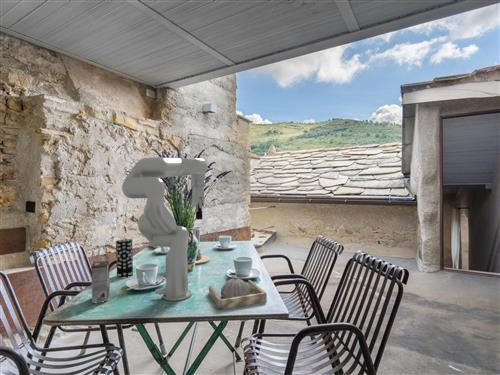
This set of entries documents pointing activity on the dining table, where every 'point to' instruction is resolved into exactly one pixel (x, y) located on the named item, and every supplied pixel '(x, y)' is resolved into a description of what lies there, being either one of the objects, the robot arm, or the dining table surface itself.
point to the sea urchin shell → (235, 288)
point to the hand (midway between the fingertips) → (199, 219)
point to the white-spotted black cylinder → (124, 257)
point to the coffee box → (100, 281)
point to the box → (241, 300)
